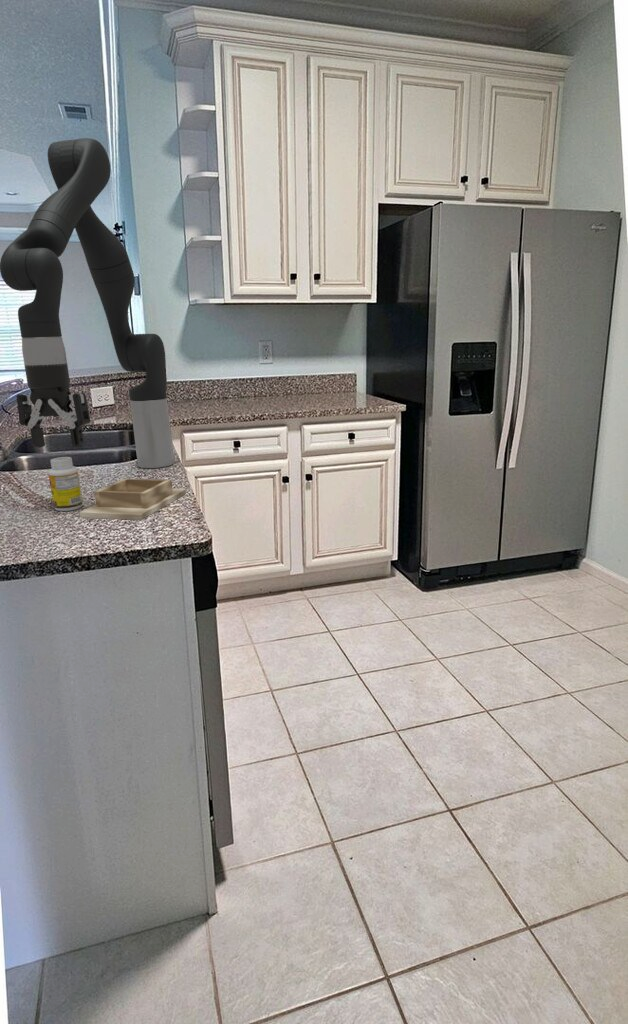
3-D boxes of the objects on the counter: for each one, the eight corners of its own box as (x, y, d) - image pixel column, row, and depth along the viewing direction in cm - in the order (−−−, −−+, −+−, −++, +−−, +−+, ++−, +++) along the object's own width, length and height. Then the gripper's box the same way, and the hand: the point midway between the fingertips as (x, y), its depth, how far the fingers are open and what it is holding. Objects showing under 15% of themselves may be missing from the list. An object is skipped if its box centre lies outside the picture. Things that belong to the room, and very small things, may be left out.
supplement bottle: (58, 505, 127) (50, 456, 124) (86, 503, 127) (78, 455, 125) (50, 513, 122) (42, 462, 119) (79, 510, 122) (72, 460, 119)
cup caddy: (132, 491, 135) (130, 474, 134) (186, 493, 132) (184, 475, 131) (80, 517, 118) (77, 497, 117) (141, 519, 115) (138, 499, 113)
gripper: (90, 360, 118) (101, 444, 122) (27, 362, 122) (40, 443, 126) (65, 362, 111) (78, 451, 115) (-1, 364, 115) (14, 450, 119)
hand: (58, 447), depth 121 cm, fingers open, 8 cm apart
